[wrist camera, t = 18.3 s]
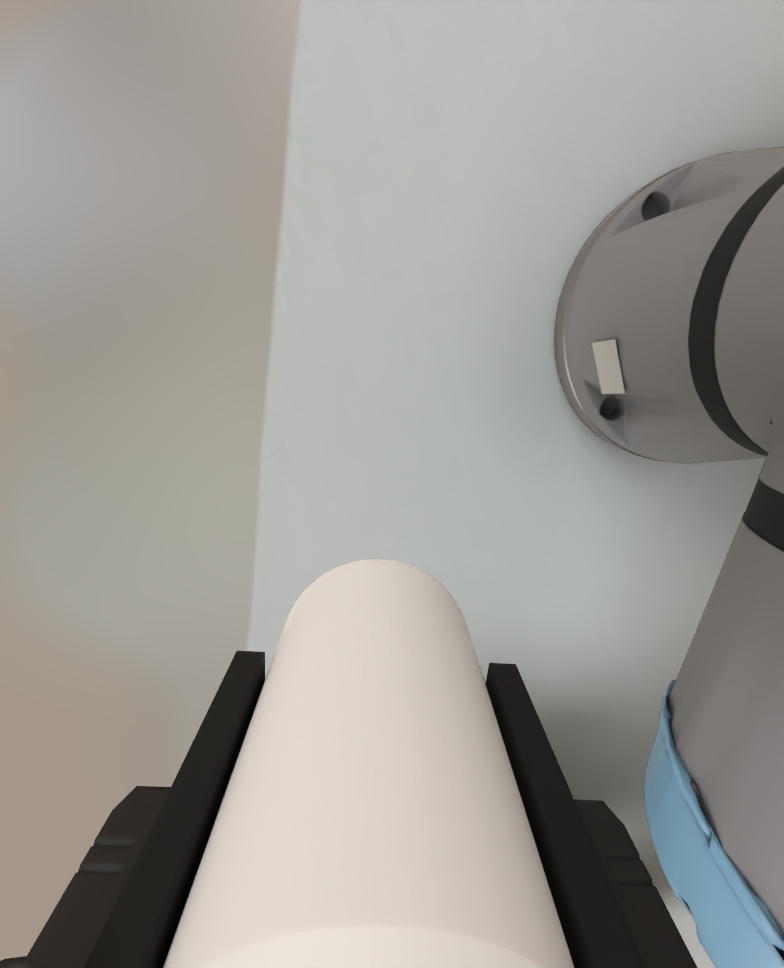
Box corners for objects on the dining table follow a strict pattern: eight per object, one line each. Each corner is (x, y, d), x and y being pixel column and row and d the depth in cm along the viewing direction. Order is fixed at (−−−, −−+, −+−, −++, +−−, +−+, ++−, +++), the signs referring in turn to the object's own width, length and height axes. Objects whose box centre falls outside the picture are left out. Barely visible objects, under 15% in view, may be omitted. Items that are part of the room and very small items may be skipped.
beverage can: (285, 545, 15) (-55, 1235, 3) (469, 548, 15) (765, 1212, 3) (292, 695, 16) (90, 1484, 5) (456, 697, 17) (622, 1458, 5)
